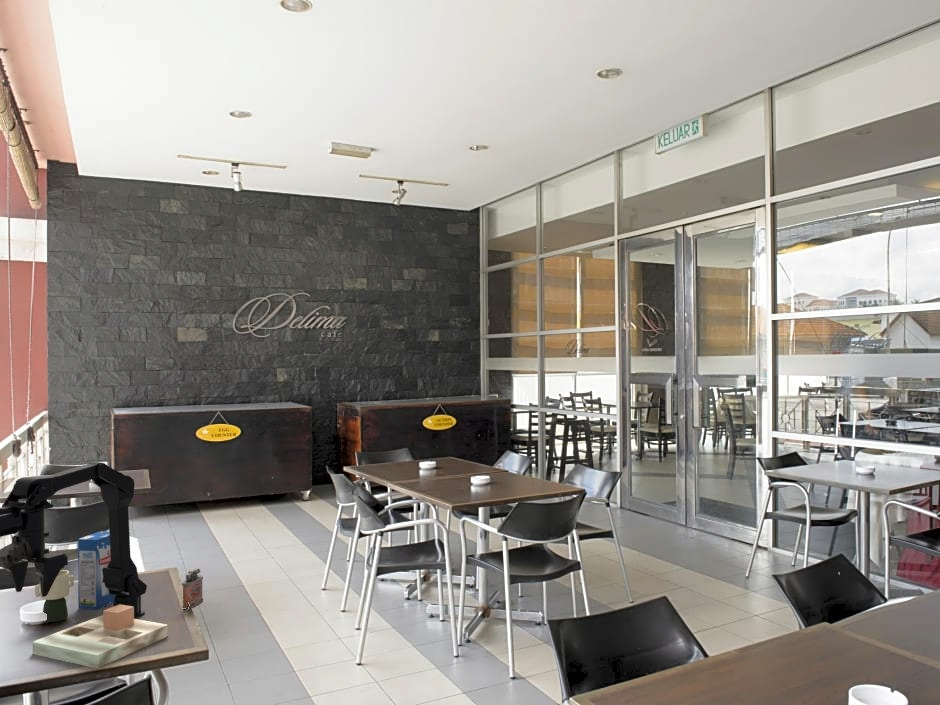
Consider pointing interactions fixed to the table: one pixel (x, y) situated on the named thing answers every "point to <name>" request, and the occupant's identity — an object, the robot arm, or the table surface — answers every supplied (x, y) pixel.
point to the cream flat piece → (98, 642)
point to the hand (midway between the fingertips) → (31, 594)
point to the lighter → (192, 589)
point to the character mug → (57, 597)
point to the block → (118, 617)
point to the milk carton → (93, 570)
